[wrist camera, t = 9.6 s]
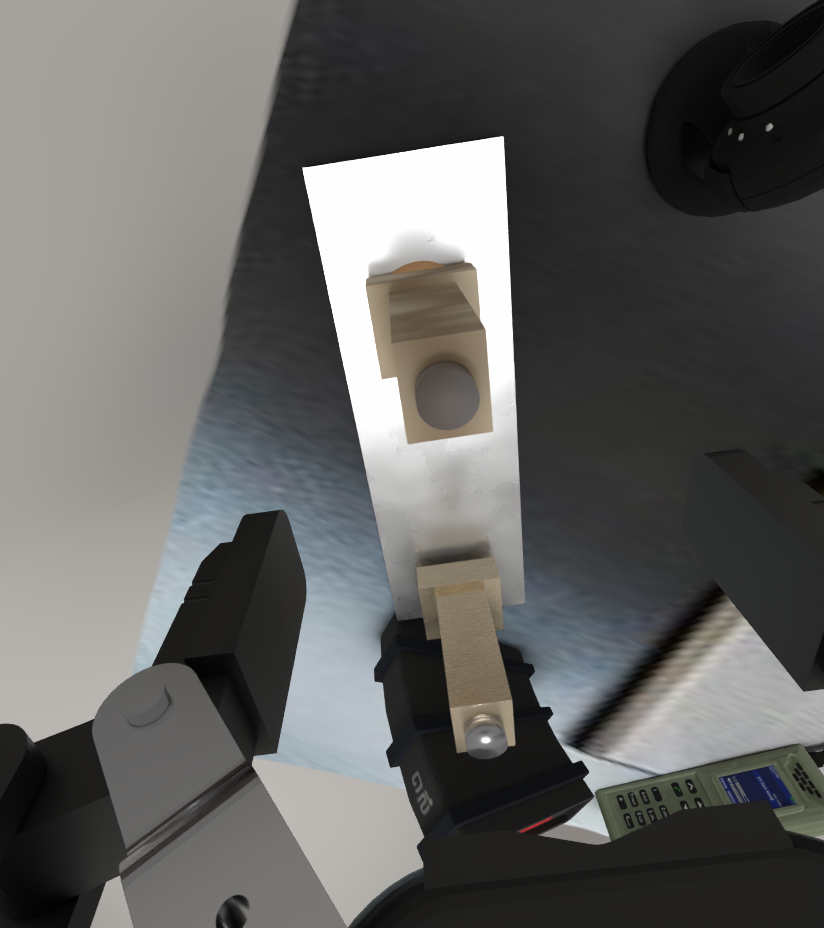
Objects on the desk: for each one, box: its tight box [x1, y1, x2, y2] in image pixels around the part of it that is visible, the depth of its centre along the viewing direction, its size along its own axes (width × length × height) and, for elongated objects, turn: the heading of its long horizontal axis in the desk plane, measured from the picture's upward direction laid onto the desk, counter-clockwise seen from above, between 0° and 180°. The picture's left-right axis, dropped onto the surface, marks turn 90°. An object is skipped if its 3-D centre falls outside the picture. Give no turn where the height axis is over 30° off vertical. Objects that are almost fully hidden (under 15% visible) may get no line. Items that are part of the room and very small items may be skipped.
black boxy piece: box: [374, 614, 594, 861], centre depth 36 cm, size 4×13×15 cm, turn 65°
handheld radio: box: [595, 744, 824, 841], centre depth 48 cm, size 7×3×25 cm
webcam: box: [647, 0, 824, 217], centre depth 20 cm, size 8×8×10 cm
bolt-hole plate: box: [303, 136, 525, 759], centre depth 26 cm, size 9×28×13 cm, turn 8°
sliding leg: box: [365, 262, 493, 444], centre depth 22 cm, size 5×4×12 cm
